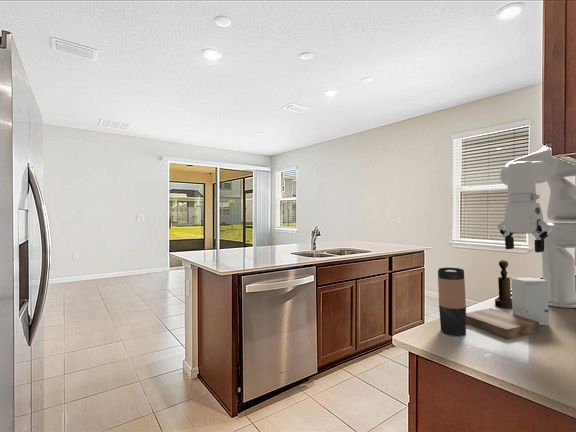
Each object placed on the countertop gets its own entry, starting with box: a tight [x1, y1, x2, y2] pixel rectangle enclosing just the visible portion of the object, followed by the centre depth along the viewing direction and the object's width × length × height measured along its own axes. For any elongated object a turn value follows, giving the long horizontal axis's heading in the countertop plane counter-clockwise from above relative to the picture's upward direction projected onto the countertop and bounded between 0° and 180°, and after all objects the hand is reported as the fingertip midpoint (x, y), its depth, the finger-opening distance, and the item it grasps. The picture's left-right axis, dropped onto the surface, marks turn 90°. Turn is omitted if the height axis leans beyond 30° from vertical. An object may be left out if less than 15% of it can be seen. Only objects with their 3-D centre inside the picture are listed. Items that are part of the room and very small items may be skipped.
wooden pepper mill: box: [494, 259, 512, 309], centre depth 123 cm, size 7×6×18 cm
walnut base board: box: [466, 307, 541, 340], centre depth 103 cm, size 14×16×3 cm
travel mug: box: [437, 267, 467, 337], centre depth 101 cm, size 8×8×20 cm
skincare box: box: [510, 277, 550, 326], centre depth 105 cm, size 8×6×15 cm
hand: (524, 250), depth 105 cm, fingers open, 9 cm apart
